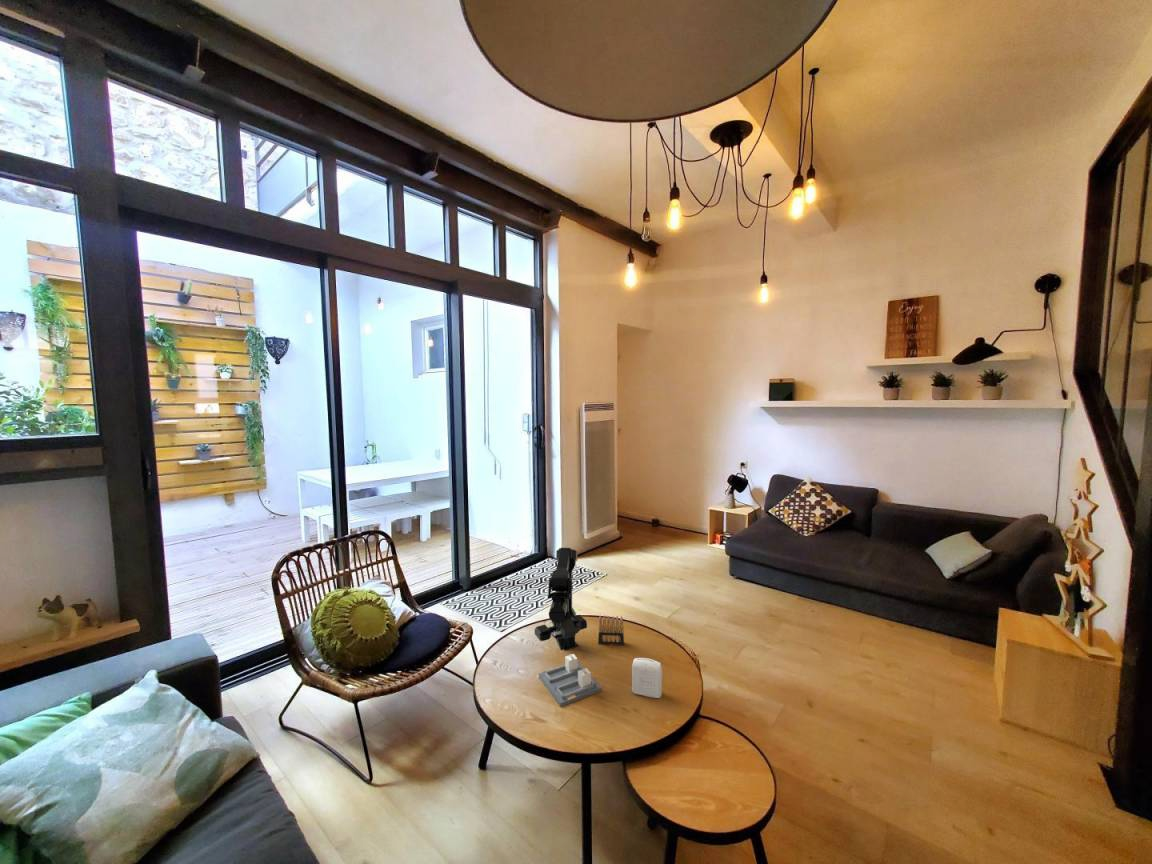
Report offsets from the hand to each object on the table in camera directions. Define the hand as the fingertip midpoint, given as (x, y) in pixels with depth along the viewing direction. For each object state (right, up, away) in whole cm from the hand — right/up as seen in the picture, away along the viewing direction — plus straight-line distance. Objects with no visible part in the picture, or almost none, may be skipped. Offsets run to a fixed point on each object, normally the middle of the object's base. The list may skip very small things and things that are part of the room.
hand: (561, 649), depth 162 cm
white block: (+8, -10, -5) cm, 14 cm away
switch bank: (+3, -11, -2) cm, 12 cm away
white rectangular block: (+4, -9, +4) cm, 11 cm away
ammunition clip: (+20, -9, +23) cm, 32 cm away
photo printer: (+30, -11, -8) cm, 33 cm away
